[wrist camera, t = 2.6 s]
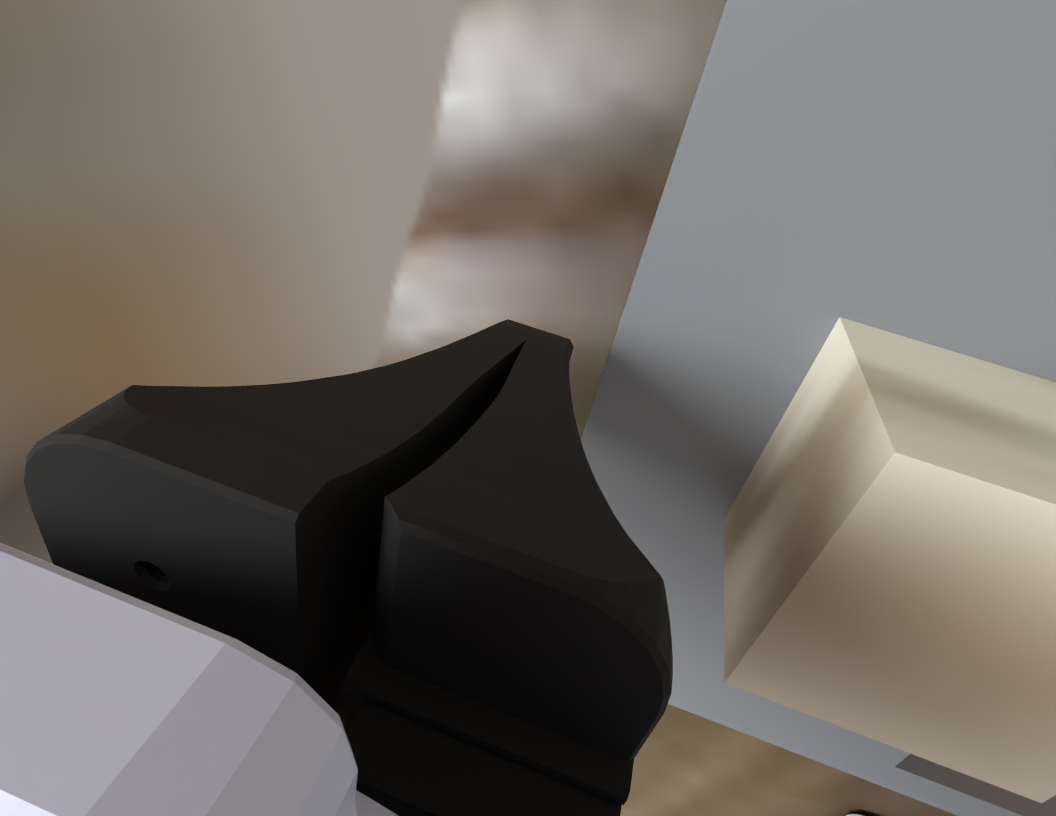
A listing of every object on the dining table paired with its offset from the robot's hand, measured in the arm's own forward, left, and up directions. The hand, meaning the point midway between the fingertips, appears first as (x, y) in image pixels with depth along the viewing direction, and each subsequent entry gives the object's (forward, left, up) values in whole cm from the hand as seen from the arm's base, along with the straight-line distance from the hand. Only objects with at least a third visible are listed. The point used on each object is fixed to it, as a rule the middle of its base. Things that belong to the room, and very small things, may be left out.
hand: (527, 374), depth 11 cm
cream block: (0, -7, -1) cm, 7 cm away
